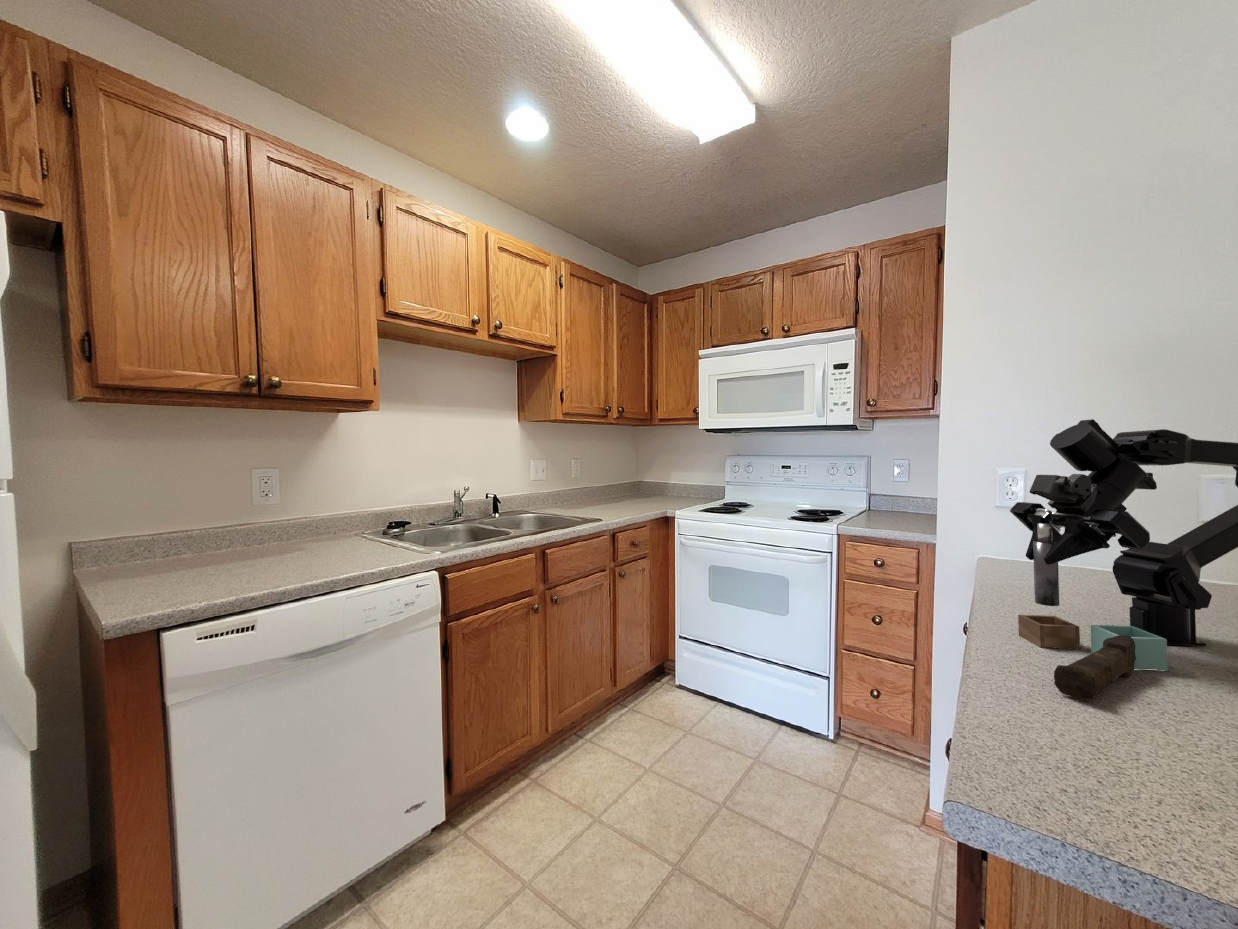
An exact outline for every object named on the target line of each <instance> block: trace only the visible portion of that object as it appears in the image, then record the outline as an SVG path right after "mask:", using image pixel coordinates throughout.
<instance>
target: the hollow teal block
mask: <svg viewBox="0 0 1238 929" xmlns="http://www.w3.org/2000/svg"><path fill="white" fill-rule="evenodd" d="M1119 635H1122V636H1130V637H1131V638H1133V640H1134V642H1135V656H1136V660H1135V664H1134V669H1157V670H1165V671H1168V670H1169V668H1168V645H1167V639H1165V638H1162V637H1159V636H1157V635H1154V634H1152V633H1149V632H1146V631H1144V630H1141V629H1139V628H1136V627H1134V626H1130V625H1111V624H1110V625H1107V624H1105V625H1104V624H1102V625H1101V624H1090V650H1091V653H1090V654H1092V653H1094V652H1096V651H1098V650H1100V649H1101V648H1102V647H1103V641H1104V640H1105V639H1107V638H1111V637H1115V636H1119Z"/></svg>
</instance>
